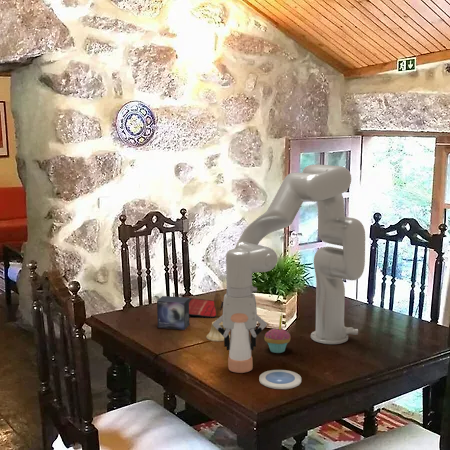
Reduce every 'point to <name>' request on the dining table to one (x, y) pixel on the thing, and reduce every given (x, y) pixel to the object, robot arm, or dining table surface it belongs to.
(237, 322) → the pepper shaker
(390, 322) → the dining table surface
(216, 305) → the hand bell
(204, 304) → the binder
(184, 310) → the small box
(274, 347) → the cupcake
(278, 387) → the coaster
